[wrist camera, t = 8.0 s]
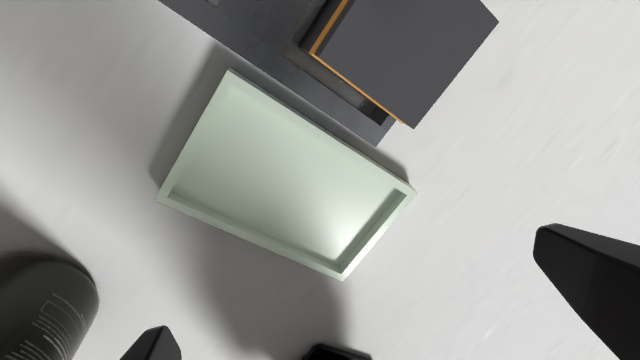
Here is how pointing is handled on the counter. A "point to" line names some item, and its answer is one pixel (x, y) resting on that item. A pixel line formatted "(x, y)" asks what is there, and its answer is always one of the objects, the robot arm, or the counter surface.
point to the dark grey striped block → (398, 48)
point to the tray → (282, 181)
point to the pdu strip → (286, 54)
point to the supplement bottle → (43, 307)
